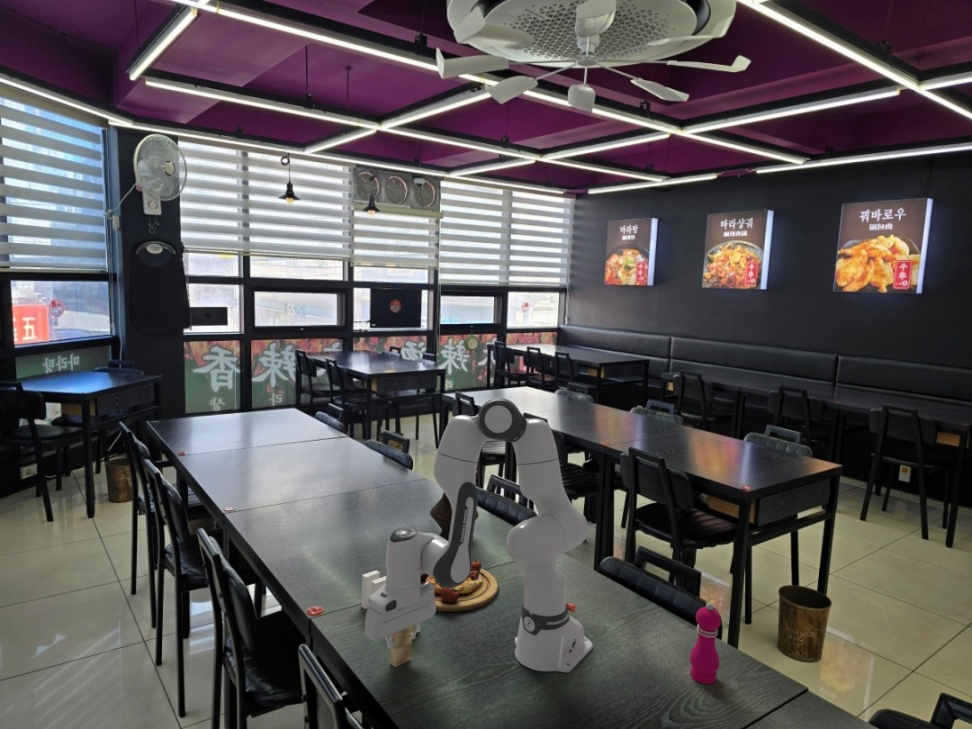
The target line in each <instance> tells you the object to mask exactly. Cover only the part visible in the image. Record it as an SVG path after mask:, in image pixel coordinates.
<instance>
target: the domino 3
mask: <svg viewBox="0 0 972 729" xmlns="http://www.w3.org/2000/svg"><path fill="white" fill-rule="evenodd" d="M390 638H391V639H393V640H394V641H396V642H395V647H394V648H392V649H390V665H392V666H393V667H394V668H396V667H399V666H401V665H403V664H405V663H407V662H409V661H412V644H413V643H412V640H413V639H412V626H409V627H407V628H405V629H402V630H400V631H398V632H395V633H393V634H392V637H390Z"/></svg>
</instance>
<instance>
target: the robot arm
mask: <svg viewBox="0 0 972 729" xmlns="http://www.w3.org/2000/svg"><path fill="white" fill-rule="evenodd" d="M490 440H495V441H500V442H507V443H511V444H512V447H513V449H514V450H513V451H514V455H515V462H516V469H517V474H518V480H519V481H518V483H519V489H520V493H521V494H522V495H523V497H525V498H526V499H528V500H530V501H532V502H533V504H534V506H535V508H536V511H537V516H533V517H530V518H528V519H525V520H522V521H521V522H519V523H517V524H516V525H515V526H513V527H512V528H511V529H510V530H509V531H508V533H507V536H506V549H507V551H508V553H509V555H510V557H511V558H512V560H513V561H514V562H515V563H517V564H519V566H520V567H521V569H522V573H523V579H524V583H523V584H524V585H523V586H524V587H523V589H524V590H523V591H524V592H523V593H524V594H523V601H522V603H521V604H522V605H521V610H520V612H521V615H520V620H519V624H518V630H517V631H518V632H517V636H515V638H514V645H515V649H514V655H515V658H516V660H517V661H518V662H519V663H520V665H522V666H524V667H526V668H529V669H530V670H533V671H539V672H559V673H560V672H561V673H570V672H572V671H573V669H574V668H575V667H576V666H577V665H578V664H579V663H580V662H581V661H582V660H583V659H584V658H585V657H586V656H587V655H588V654H589V653H590V652H591V651H592V649H593V648H594V647H593V642H592V641H591V640H590V639H589V638H588V637H587V636H585V629H584V626H583V625H582V623H580V621H579V620H577V619H576V618H574V617H572V616H571V615H570V614H569V611H570V612H571V613H575V611H577V610H576V609H577V605H576V604H572V603H571V602H568V603H567V590H568V580H567V577H566V576H565V575H564V573H563V572H562V571H561V570H560V569H558V568H557V562H556V561H557V559H558V557H559V555H563V554H565V553H568V552H570V551H572V550H574V549H576V548H577V547H578V546H580V545H581V544H582V543H583V542H585V540H586V539H587V538H588V535H589V523H588V521H587V518H586V516H585V515H584V514H583V513H582V512H581V511H580V510H579V509H577V508H576V507H575V506H574V505H573V504H572V502H571V500H570V499H569V497H568V495H567V492H566V490H565V489H566V488H565V487H564V484H563V478H562V472H561V471H562V470H561V464H560V459H559V453H558V449H557V444H556V441H555V437H554V433H553V431H552V428H551V426H550V424H549V423H548V422H547V421H545V419H541V418H526V417H525V416H524V415H523V413H521V411H520V409H519V408H518V407H517V405H516V404H515V403H514V402H513V401H512V400H511V399H508V398H505V397H494V398H491V399H489V400H488V401H487V400H486V402H485V403H484V404H483V405H482V406H481V407H480V408H479V412H478V413H477V414H476V415H475V416H473V415H472V416H471V415H467V414H459V415H455V416H453V417H452V418H451V419H449V421H448V422H447V425H446V427H445V430H444V431H443V434H442V436H441V439H440V442H439V445H438V449H437V453H436V456H435V459H434V465H433V477H434V478H435V479H434V480H435V481H436V483H437V485H438V487H439V488H440V489H441V490H442V491H443V492H444V493H445V494H446V496H447V497H448V499H449V501H450V504H451V507H452V520H451V527H450V534H449V540H448V541H447V540H446V539H444V538H442V537H441V536H440V534H439V535H438V534H436V533H434V532H431V531H430V532H424V531H420V530H419V529H417V528H415V527H412V526H406V527H405V526H404V527H400V528H397V529H395V530H394V531H393V532H391V533H390V536H389V537H388V541H387V543H386V544H387V545H386V553H385V568H386V575H385V576H386V580H385V584H384V585H383V586H382V587H381V588H379V589H378V590H377V591H376V592H374V593H373V594H372V595H370V596H369V597H368V604H369V605H370V607H369V608H367V610H366V614H365V621H364V634H365V636H366V637H367V638H369V639H370V640H371V641H373V642H377V641H379V640H381V639H385V640H386V648H387V649H389V650H391V649H392V648H394V647H395V642H396V641H394V640H393V639H391V637H392V634H393V633H395V632H398V631H400V630H402V629H405V628H407V627H409V626H412V640H414V639H416V637H417V636H416V635H417V633H416V631H417V629H418V627H419V625H420V626H421V622H424V621H425V620H428V619H430V618H432V617H434V616H435V614H436V612H437V611H436V601H435V595H434V591H435V587H434V585H433V583H430V582H427V583H425V584H422V585H420V577H421V575H422V574H425V573H427V574H428V575H430V576H431V577H433V578H434V579H435V580H436V581H437V582H438V583H439V584H440V585H441V586H443V587H444V588H454V587H457V586H459V585H461V584H462V583H464V582H465V581H466V579H467V578H468V577H469V575H470V572H471V568H472V561H473V555H472V546H473V539H474V531H475V523H476V520H475V518H476V511H478V499H479V498H478V497H479V495H478V489H477V485H476V476H477V475H476V470H477V468H478V467H477V466H478V462H479V458H480V455H481V451H482V448H483V446H484V444H485V443H486V442H487V441H490Z"/></svg>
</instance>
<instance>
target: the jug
mask: <svg viewBox="0 0 972 729" xmlns="http://www.w3.org/2000/svg"><path fill="white" fill-rule="evenodd" d="M478 474H479V471H478V470H477V469H476V476H477V475H478ZM429 513H430V514H429V515H430V516H431V517H432V519H433V520H434V522H436V524H437V525H438V527H439V528H440V529H441V531H440V533H439V536H441V537H442V538H444V539H446V540H447V541H448V540H449V534H450V527H451V520H452V507H451V504H450V501H449V499H448V497H447V496H446V494H445V493H444V491H443V493H442V497H441V498H440V499H439V500H438V501H437V502H436V503H435V504H434V505H433V507H432V508H431V510H430V512H429ZM478 518H479V512H478V510H477V511H476V518H475V521H476V520H477V519H478Z"/></svg>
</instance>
